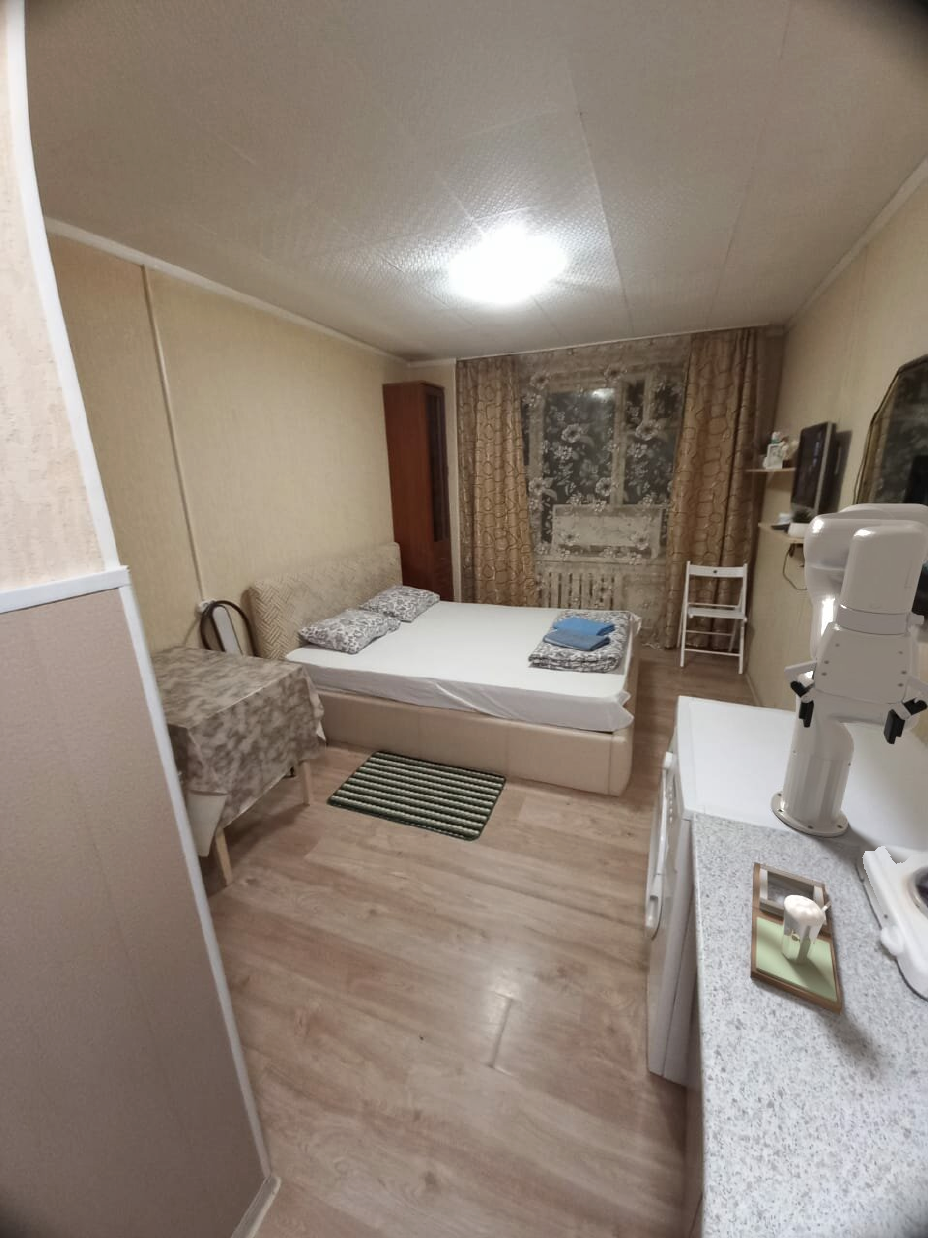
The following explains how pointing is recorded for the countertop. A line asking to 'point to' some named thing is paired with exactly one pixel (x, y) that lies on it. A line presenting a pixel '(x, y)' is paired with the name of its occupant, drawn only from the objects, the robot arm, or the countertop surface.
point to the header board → (767, 958)
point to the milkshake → (800, 927)
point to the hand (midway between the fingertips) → (845, 731)
